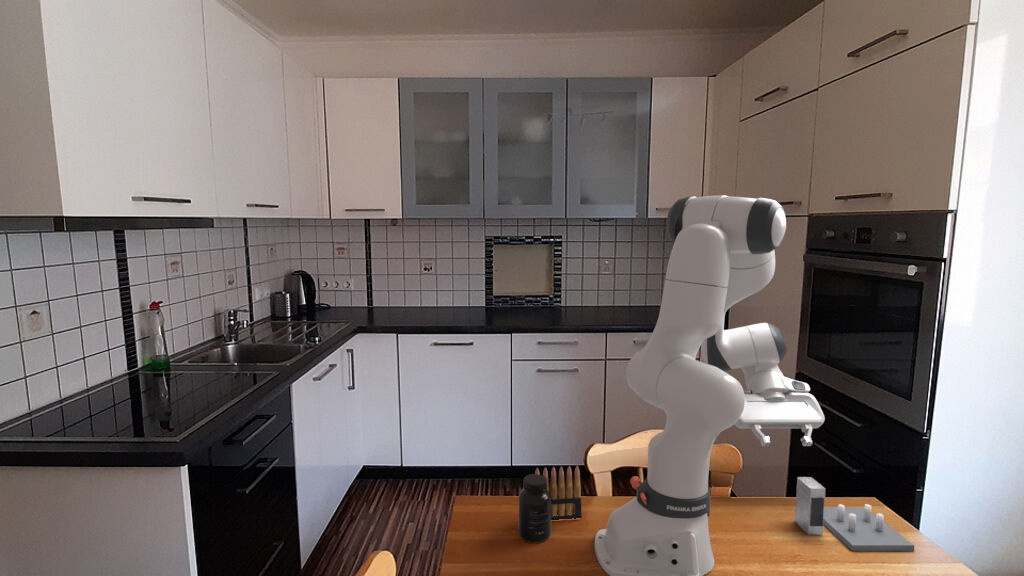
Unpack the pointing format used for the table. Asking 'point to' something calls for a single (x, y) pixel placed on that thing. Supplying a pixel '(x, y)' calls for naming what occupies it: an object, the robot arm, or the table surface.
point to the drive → (810, 505)
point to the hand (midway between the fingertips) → (787, 445)
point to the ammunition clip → (564, 494)
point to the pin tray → (864, 529)
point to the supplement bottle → (535, 509)
